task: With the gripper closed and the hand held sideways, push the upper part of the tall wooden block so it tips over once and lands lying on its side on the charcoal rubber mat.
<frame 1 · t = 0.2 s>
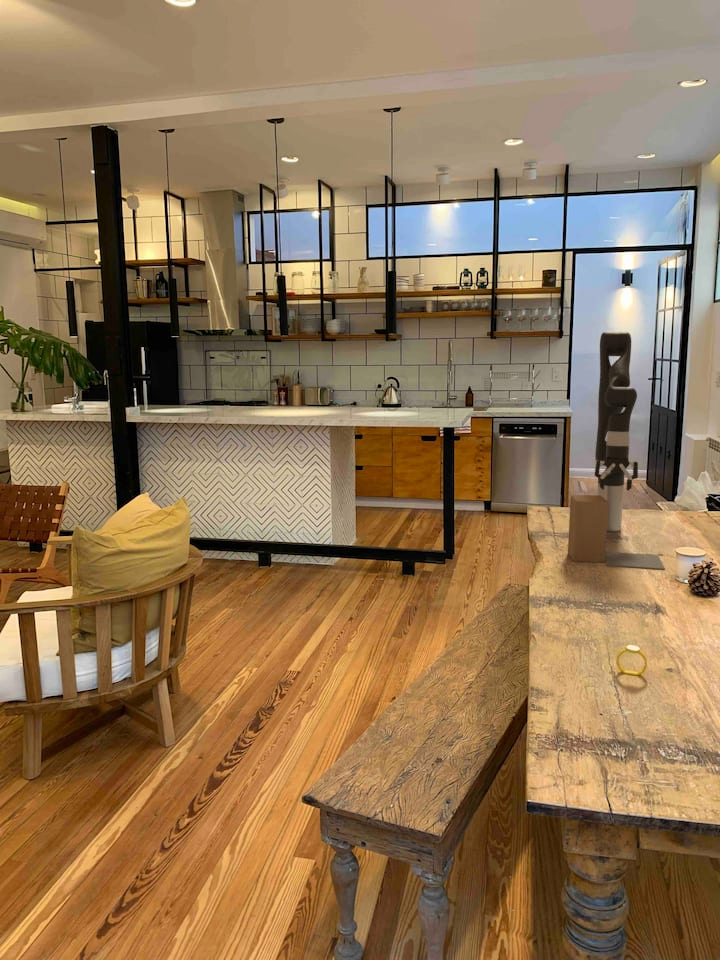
hand: (615, 489, 255), 18 cm above the table, tool pointing down, fingers open, 8 cm apart
wooden block: (585, 558, 235), on the table
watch: (630, 674, 153), on the table
charcoal mat: (632, 560, 232), on the table
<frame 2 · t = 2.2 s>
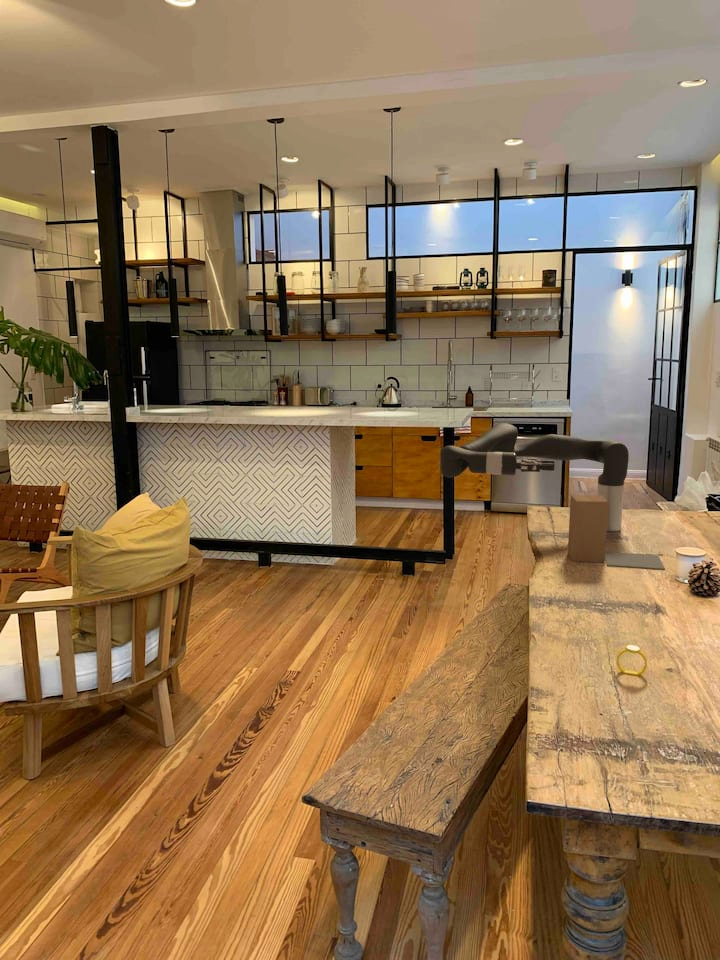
hand: (554, 465, 233), 30 cm above the table, tool horizontal, fingers open, 5 cm apart
nothing on the table moved.
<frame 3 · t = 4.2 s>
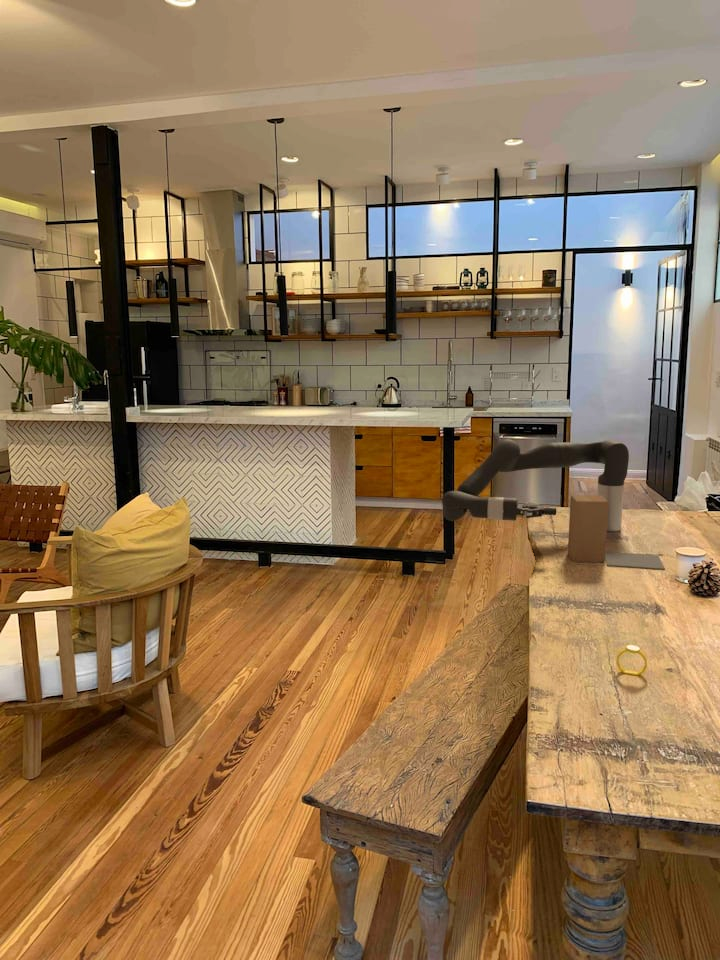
hand: (556, 511, 235), 15 cm above the table, tool horizontal, fingers closed
nothing on the table moved.
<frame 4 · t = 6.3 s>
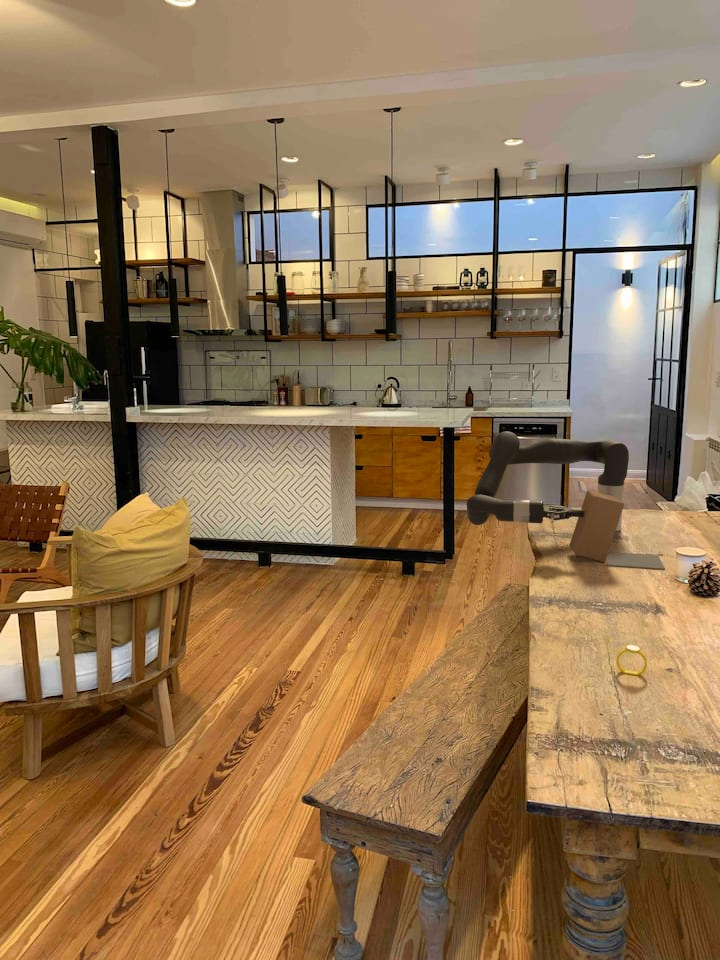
hand: (583, 513, 232), 15 cm above the table, tool horizontal, fingers closed
wooden block: (586, 554, 235), point 1 cm above the table, touching gripper
everything else where it was.
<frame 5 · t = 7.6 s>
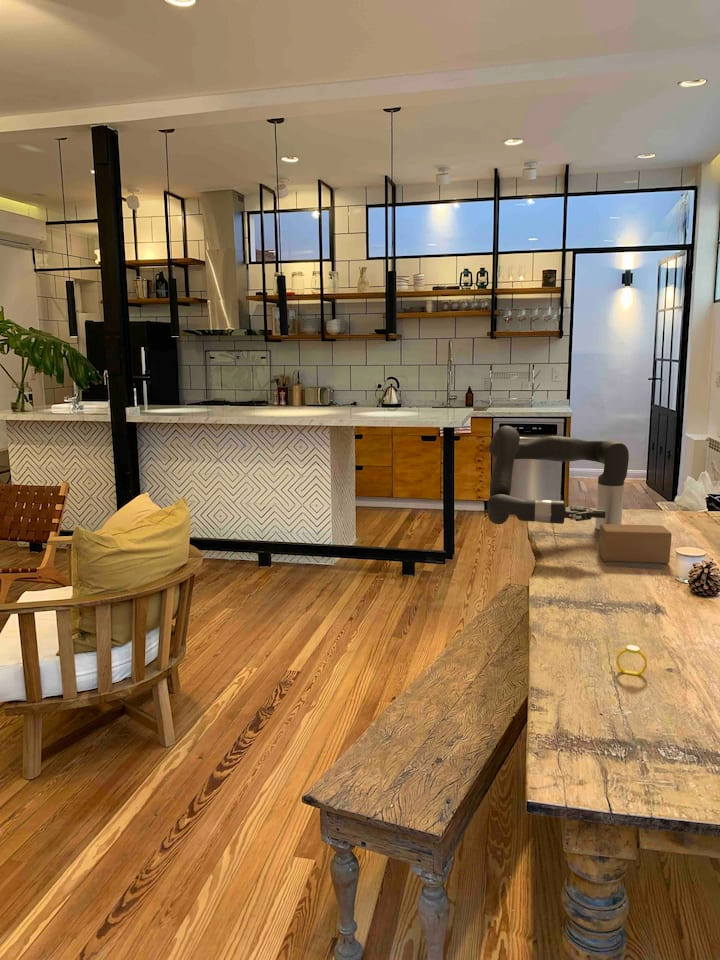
hand: (605, 514, 231), 15 cm above the table, tool horizontal, fingers closed
wooden block: (601, 542, 234), point 5 cm above the table, touching charcoal mat
everything else where it was.
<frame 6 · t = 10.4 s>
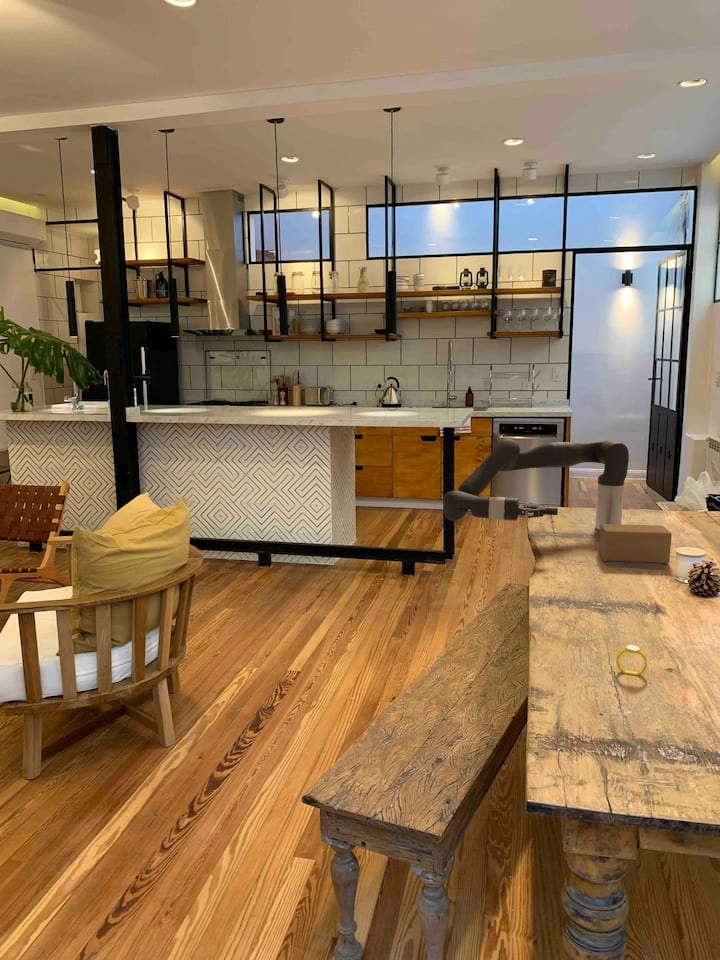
hand: (557, 511, 235), 15 cm above the table, tool horizontal, fingers closed
nothing on the table moved.
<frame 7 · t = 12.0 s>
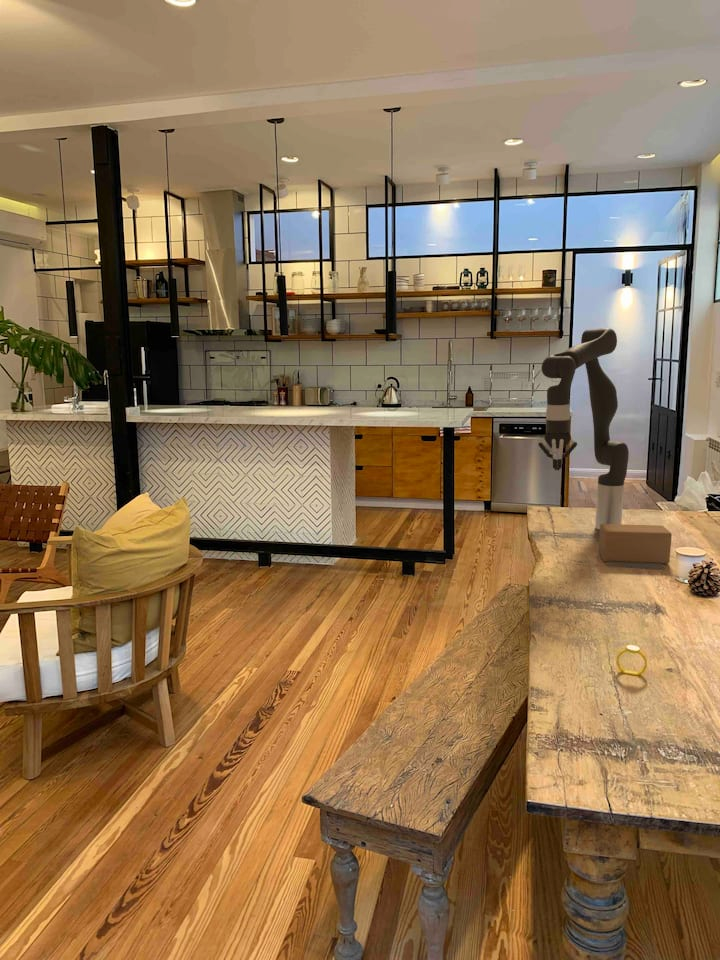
hand: (557, 469, 239), 28 cm above the table, tool pointing down, fingers closed
nothing on the table moved.
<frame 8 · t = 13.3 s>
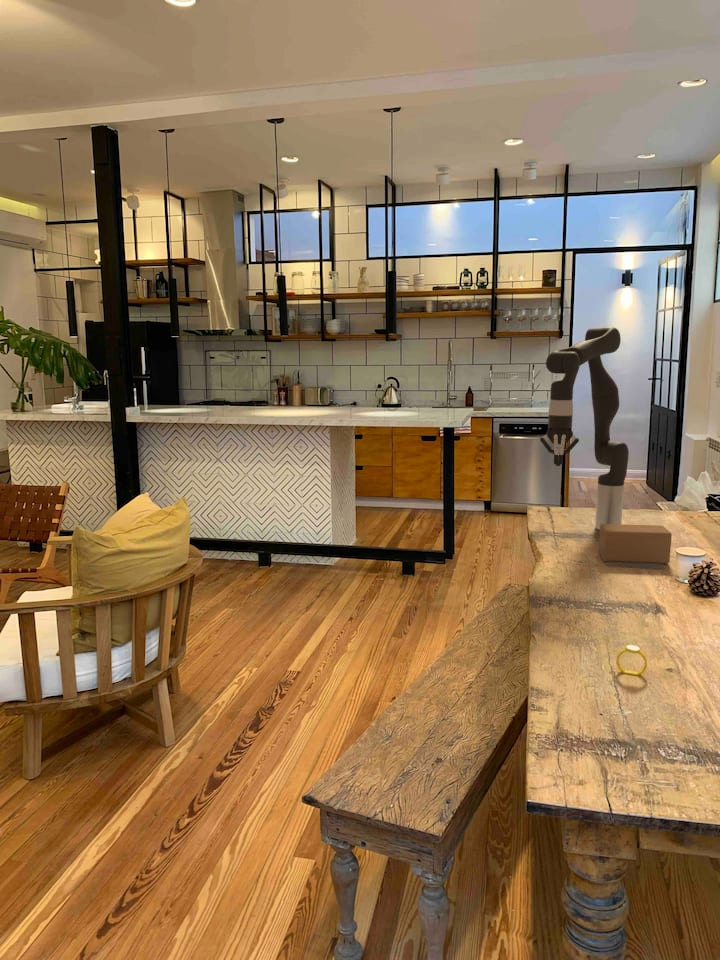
hand: (558, 465, 239), 29 cm above the table, tool pointing down, fingers closed
nothing on the table moved.
at the end: wooden block tilted 90°; wooden block touching charcoal mat; wooden block inside the target area (1.6 cm from its centre), point 5.4 cm above the table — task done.
